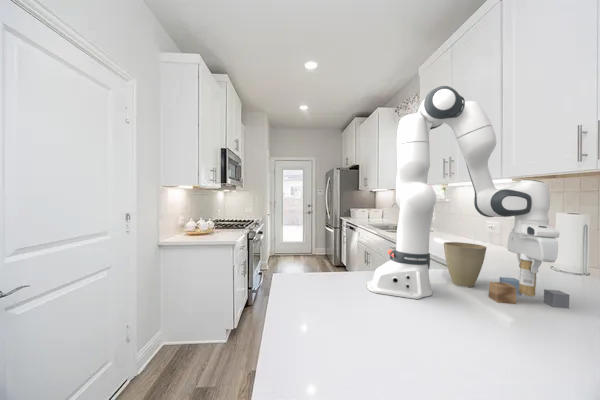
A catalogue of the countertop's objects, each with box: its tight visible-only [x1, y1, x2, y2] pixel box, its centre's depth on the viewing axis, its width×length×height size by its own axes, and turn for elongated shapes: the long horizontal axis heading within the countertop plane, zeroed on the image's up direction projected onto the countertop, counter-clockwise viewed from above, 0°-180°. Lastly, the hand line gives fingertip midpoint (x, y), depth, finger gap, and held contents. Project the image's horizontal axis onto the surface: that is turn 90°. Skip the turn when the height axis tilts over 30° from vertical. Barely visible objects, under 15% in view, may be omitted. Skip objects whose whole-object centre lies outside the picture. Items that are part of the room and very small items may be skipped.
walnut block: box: [488, 281, 517, 305], centre depth 96 cm, size 6×6×6 cm
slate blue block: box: [498, 276, 523, 296], centre depth 105 cm, size 5×5×5 cm
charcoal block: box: [543, 288, 571, 309], centre depth 93 cm, size 4×4×4 cm
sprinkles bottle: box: [518, 254, 537, 297], centre depth 94 cm, size 5×5×14 cm
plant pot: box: [443, 241, 487, 288], centre depth 113 cm, size 15×15×16 cm
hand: (528, 270), depth 94 cm, fingers open, 4 cm apart
